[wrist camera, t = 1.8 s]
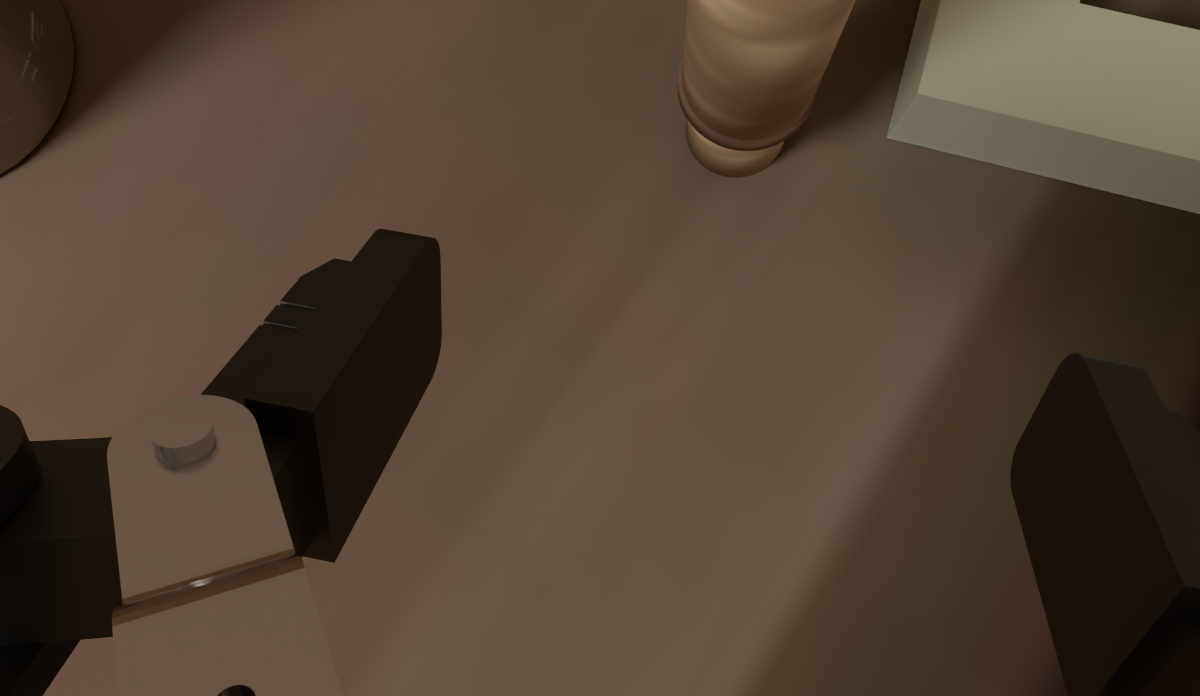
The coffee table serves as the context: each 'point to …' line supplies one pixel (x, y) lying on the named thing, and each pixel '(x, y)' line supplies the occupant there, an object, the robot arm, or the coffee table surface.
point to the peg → (753, 76)
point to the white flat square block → (1057, 94)
